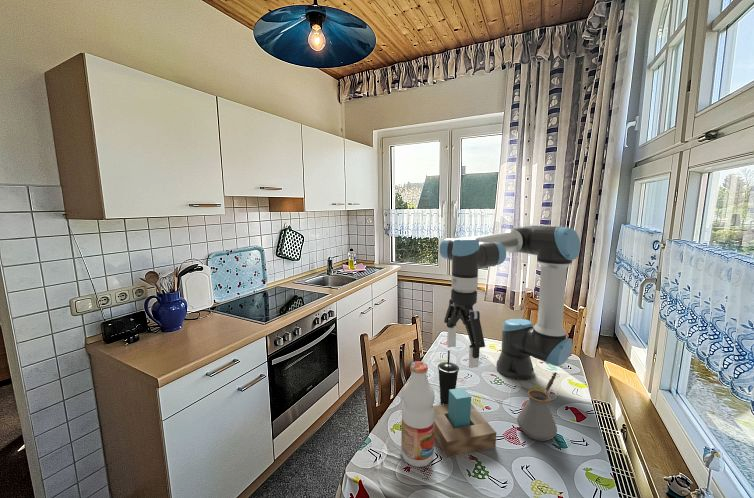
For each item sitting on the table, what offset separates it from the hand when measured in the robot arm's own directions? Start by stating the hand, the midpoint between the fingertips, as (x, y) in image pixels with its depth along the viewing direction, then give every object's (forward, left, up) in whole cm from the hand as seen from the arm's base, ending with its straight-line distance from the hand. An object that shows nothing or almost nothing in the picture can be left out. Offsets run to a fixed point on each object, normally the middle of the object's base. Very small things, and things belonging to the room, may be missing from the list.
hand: (461, 356), depth 96 cm
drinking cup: (-4, -16, -27) cm, 31 cm away
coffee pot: (-29, +3, -27) cm, 39 cm away
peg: (0, 0, -26) cm, 26 cm away
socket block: (0, 0, -26) cm, 26 cm away
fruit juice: (+16, +5, -27) cm, 31 cm away
